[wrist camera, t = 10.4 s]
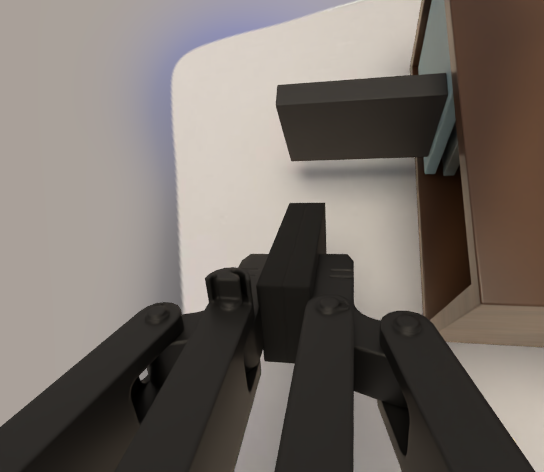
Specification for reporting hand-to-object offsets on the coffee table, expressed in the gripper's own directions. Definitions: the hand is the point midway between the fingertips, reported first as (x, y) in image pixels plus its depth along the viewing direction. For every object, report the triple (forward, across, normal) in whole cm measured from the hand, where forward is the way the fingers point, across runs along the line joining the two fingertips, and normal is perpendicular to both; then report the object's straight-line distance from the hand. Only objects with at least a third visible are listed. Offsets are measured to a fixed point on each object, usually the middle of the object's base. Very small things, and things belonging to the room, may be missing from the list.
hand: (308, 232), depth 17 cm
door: (+10, +2, +3) cm, 11 cm away
